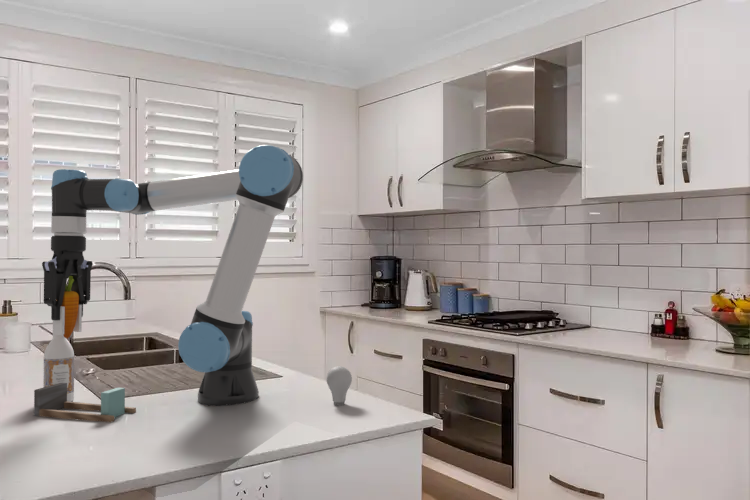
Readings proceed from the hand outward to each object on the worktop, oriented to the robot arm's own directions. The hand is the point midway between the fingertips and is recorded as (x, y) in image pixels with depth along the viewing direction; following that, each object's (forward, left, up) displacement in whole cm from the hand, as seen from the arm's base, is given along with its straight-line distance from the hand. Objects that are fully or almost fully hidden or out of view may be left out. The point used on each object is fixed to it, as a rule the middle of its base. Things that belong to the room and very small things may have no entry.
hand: (67, 332), depth 150 cm
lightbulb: (-62, -21, -19) cm, 68 cm away
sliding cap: (-14, 0, -19) cm, 23 cm away
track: (-7, 0, -19) cm, 20 cm away
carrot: (0, 0, -2) cm, 2 cm away
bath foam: (+9, -8, -19) cm, 23 cm away
